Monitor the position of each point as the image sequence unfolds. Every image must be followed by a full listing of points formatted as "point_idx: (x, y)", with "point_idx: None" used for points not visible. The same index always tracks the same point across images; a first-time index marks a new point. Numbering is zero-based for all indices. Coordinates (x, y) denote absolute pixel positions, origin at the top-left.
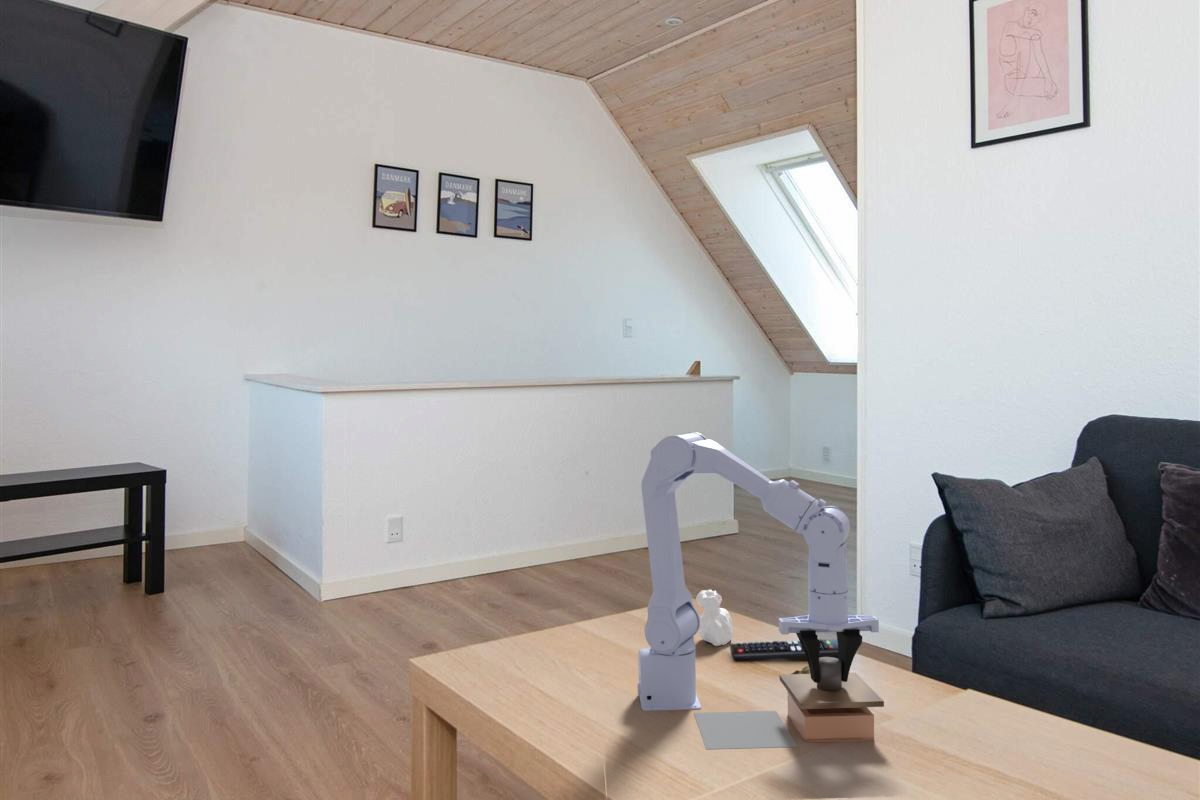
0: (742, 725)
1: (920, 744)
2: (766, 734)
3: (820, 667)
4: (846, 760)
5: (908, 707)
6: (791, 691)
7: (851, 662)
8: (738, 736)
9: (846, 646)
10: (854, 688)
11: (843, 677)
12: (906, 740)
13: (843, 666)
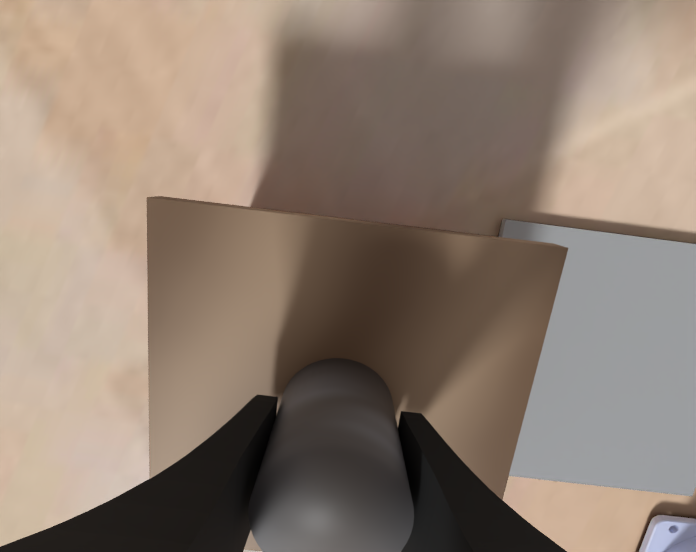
0: (597, 393)
1: (102, 181)
2: (557, 321)
3: (403, 468)
4: (387, 114)
5: (39, 434)
6: (527, 399)
7: (196, 449)
8: (648, 323)
9: (190, 548)
10: (227, 375)
11: (271, 405)
12: (136, 218)
13: (254, 451)
